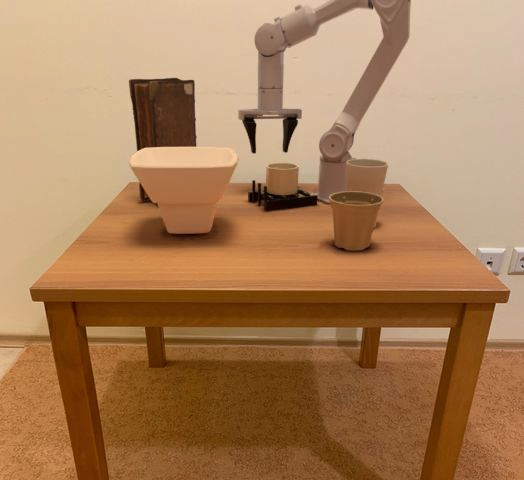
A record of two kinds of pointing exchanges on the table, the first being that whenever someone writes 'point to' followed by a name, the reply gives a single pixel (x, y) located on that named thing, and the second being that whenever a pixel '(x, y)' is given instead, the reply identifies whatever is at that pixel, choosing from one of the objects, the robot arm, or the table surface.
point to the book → (163, 114)
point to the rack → (280, 199)
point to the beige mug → (282, 178)
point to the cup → (366, 176)
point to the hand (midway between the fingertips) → (269, 152)
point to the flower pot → (354, 218)
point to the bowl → (185, 183)
